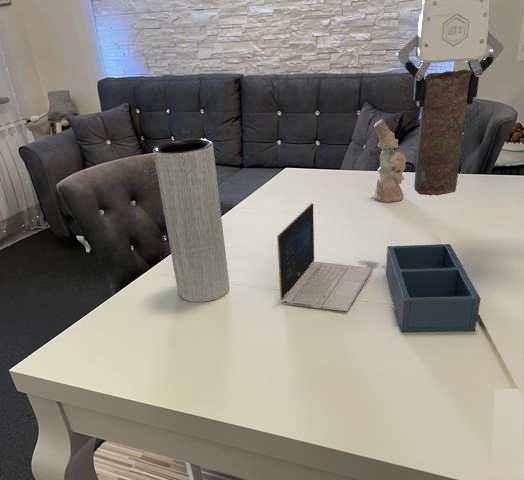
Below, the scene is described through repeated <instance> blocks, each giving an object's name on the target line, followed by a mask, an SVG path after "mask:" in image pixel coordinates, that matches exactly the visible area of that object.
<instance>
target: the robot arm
mask: <svg viewBox="0 0 524 480" xmlns="http://www.w3.org/2000/svg"><path fill="white" fill-rule="evenodd" d="M489 21H490V0H422V3H421V9H420V14H419V21H418V28H417V34H416V35H414V37H412V39H410V40H409V41H408V42H407V43H406V44H405V45H404V46H403V47H402V48H401V49H399V51H397V52H396V57H397V59H398V60H399V62H400V63H401V64H402V66H404V68H405V70H406V71H407V72H408V73H409V74H410V75H411V77H412V78H413V79H414V85H413V98H412V99H413V102H416V106H417V107H418V108H422V106H423V105H424V94H425V83H426V82H425V80H424V79H425V75H426V72H427V71H428V69H429V67H430V66H431V64H436V63H452V62H465V61H466V63H467V66H468V69H469V70H470V71H471V74H470V81H469V89H468V96H467V104H466V105H473V101H474V99H475V98H477V96H478V89H479V81H480V77H481V76H482V75H483V73H485V71H486V70H487V69H488V68H489V67H490V66H491V65H492V64H493V62H494V61H495V60H496V59H497V58H498V57H499V56H500V54H501V53H502V51H504V49H505V47H504V45H503V44H502V43H501V42H500V41H499V40H498V39H497V38H496V37H495V36H494V35H493V34H492V33H491V32H490V31H489ZM487 46H488V47H489V49H490V50H489V51H488V52H487V54H486V55H485V53H486V50H487ZM414 50H415V56H416V58H417V59H419V62H418V64H417V66H416V65H415V64H414V63H413V62H412V61H411V59H410V57H409V55H410V53H412V52H413V51H414ZM484 55H485V56H484ZM483 56H484V57H483ZM482 57H483V58H482ZM481 58H482V59H481ZM479 59H481V60H479Z"/></svg>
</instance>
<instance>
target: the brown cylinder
mask: <svg viewBox="0 0 524 480" xmlns="http://www.w3.org/2000/svg"><path fill="white" fill-rule="evenodd" d="M470 74H471V71H470V69H469V70H468V69H465V68H463V69H458V70H448V71H443V72H431V73H427V74H426V76H424V80H425V82H426V83H425V94H424V105H423V106H422V107H420V108H421V109H420V120H419V133H418V141H417V150H416V152H417V153H416V161H415V172H414V181H413V182H414V184H413V188H414V190H415V192H416V193H417V194H418V195H421V196H431V197H432V196H442V195H447V194H451V193H455V192H456V190H457V185H458V179H459V178H458V177H459V171H460V170H459V169H460V162H461V161H460V160H461V153H462V146H463V145H462V144H463V136H464V129H465V128H464V127H465V120H466V111H467V105H468V104H467V96H468V89H469V81H470Z"/></svg>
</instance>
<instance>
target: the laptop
mask: <svg viewBox="0 0 524 480" xmlns="http://www.w3.org/2000/svg"><path fill="white" fill-rule="evenodd" d="M314 230H315V228H314V203H313V202H311V203H310V204H309V205H308V206H307V207H306V208H305V209H304V210H303V211H302V212H300V213H299V214H298V215H297V216H296V217H295V218H294V219H293V220H292V221H291V222H290V223H289V224H288V225H287V226H286V227H285V228H284V229H283V230H282V231H281V232H280V233H279V234H278V235H277V236H276V239H277V240H276V241H277V259H278V277H279V278H278V279H279V294H280V295H279V297H280V301H281V304H283V305H288V306H289V305H291V306H298V307H306V308H316V309H323V310H334V311H344V312H347V311H349V309H350V308H351V305H352V304H353V302H354V301H355V299H356V297H357V296H358V294H359V292H360V290H361V289H362V287H363V286H364V284H365V282H366V281H367V279H368V277H369V276H370V274H371V272H372V270H373V268H372V267H368V266H359V265H350V264H343V263H342V264H341V263H330V262H324V261H323V262H321V261H315V231H314Z"/></svg>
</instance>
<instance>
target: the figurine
mask: <svg viewBox="0 0 524 480" xmlns="http://www.w3.org/2000/svg"><path fill="white" fill-rule="evenodd" d="M373 128H374V131H375V133H376V135H377V137H378V142H377V147H378V148H379V149H381V153H380V154H379V168H378V169H377V172H378V173H379V178H378V179H377V181H376V188H375V191H374V192H373V194H372V198H373V199H374V200H376V201H379V202H384V203H389V202H399V201H401V200H403V198H404V196H405V194H404V192H403V190H402V187H401V186H400V185H401V184H402V182H403V181H404V180H405V176H404V175H402V174H403V172H404V171H405V170H406V169H407V166H406V163H407V159H406V156H405V154H404V152H403V151H402V150H401V151H398V152H395V150H394V149H397V148H399V139H398V138H395V135H396V134H395V132H393V131H391V130H390V128H389V127H388V125H387V123H386V122H385V120H384V119H379V120H378V121H376V122H375V124H373Z"/></svg>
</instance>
